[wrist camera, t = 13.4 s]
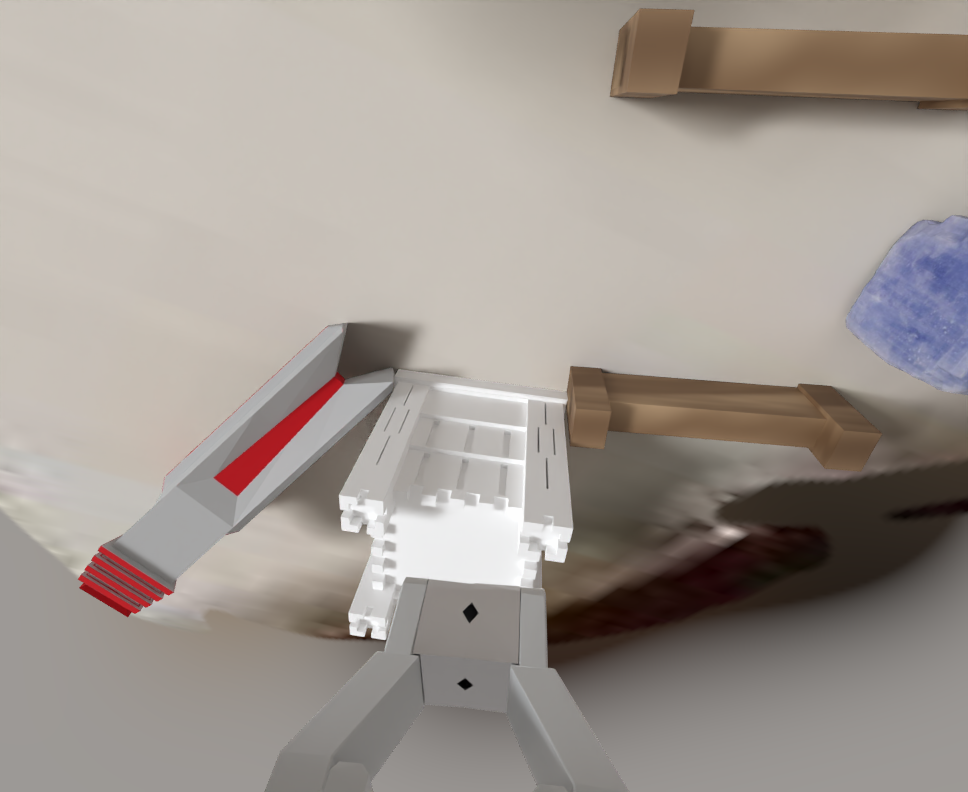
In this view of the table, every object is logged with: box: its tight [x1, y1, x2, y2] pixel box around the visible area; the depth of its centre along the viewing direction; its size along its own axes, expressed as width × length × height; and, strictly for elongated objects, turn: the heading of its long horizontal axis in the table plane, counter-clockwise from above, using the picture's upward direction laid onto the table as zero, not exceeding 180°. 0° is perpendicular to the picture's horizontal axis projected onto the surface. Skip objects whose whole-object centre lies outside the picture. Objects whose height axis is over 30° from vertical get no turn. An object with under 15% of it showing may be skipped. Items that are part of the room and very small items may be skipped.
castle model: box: [339, 369, 573, 640], centre depth 37 cm, size 14×14×15 cm
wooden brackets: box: [566, 9, 968, 472], centre depth 30 cm, size 25×20×6 cm
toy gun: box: [78, 323, 395, 617], centre depth 42 cm, size 7×28×15 cm, turn 130°
